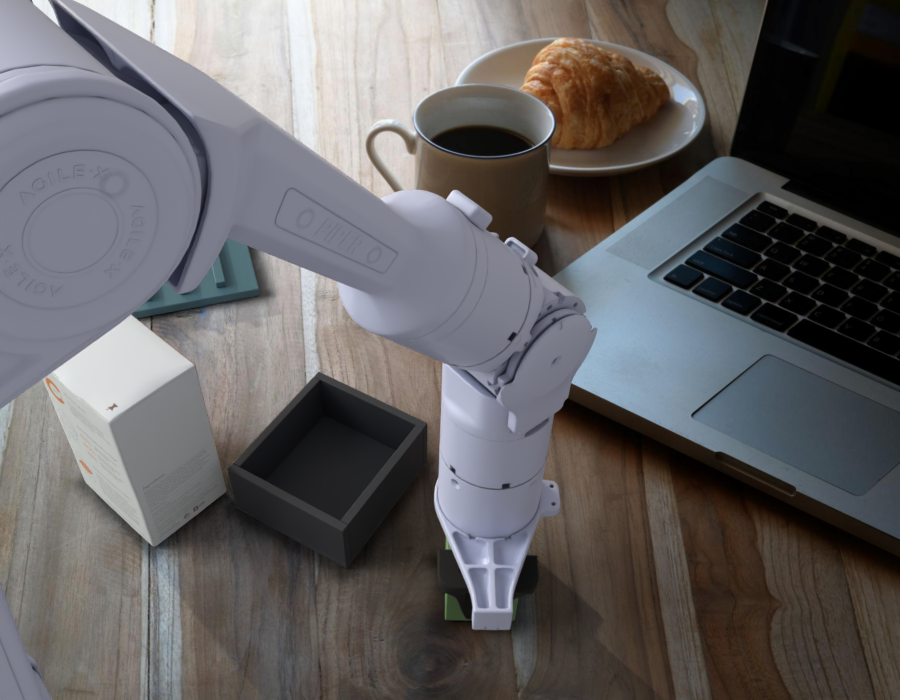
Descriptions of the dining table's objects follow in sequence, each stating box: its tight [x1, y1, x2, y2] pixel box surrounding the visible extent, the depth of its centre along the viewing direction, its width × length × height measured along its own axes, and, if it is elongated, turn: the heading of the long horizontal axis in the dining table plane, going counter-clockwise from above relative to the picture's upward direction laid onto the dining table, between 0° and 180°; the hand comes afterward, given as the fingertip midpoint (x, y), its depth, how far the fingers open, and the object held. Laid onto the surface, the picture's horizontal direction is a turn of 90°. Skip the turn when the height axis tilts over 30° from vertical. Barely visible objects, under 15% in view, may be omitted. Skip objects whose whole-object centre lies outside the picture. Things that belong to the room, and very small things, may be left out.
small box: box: [42, 314, 228, 548], centre depth 60 cm, size 8×6×13 cm
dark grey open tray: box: [226, 371, 429, 570], centre depth 64 cm, size 10×9×4 cm
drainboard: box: [132, 239, 261, 319], centre depth 83 cm, size 20×12×1 cm, turn 18°
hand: (480, 578), depth 59 cm, fingers closed on block, 4 cm apart
